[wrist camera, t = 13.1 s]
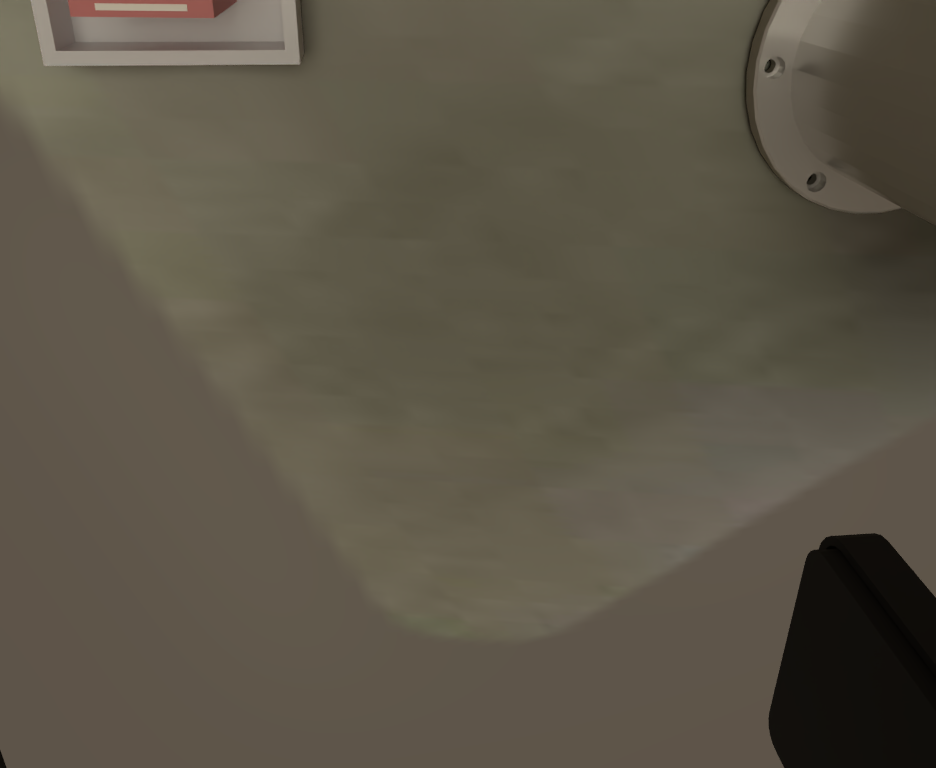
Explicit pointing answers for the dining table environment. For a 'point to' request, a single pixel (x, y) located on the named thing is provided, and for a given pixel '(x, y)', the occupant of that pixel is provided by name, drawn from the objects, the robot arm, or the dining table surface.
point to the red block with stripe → (149, 8)
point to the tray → (173, 36)
